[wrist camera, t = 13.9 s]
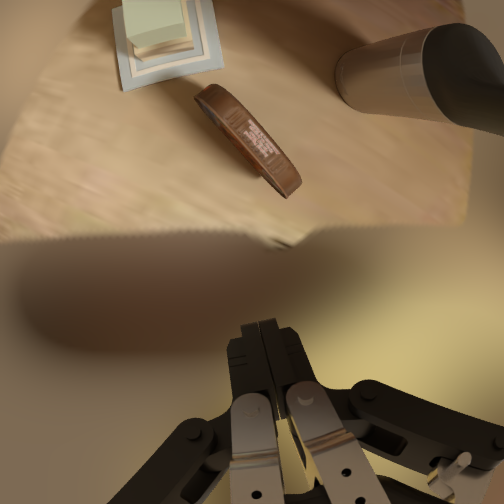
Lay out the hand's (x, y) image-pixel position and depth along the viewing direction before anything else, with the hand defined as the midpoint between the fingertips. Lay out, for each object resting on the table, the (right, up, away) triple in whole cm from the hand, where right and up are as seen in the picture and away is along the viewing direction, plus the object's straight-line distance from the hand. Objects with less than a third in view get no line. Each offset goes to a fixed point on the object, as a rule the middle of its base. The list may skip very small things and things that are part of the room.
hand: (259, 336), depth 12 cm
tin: (-1, +17, +21) cm, 28 cm away
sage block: (-10, +27, +9) cm, 30 cm away
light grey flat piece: (-10, +29, +14) cm, 34 cm away
